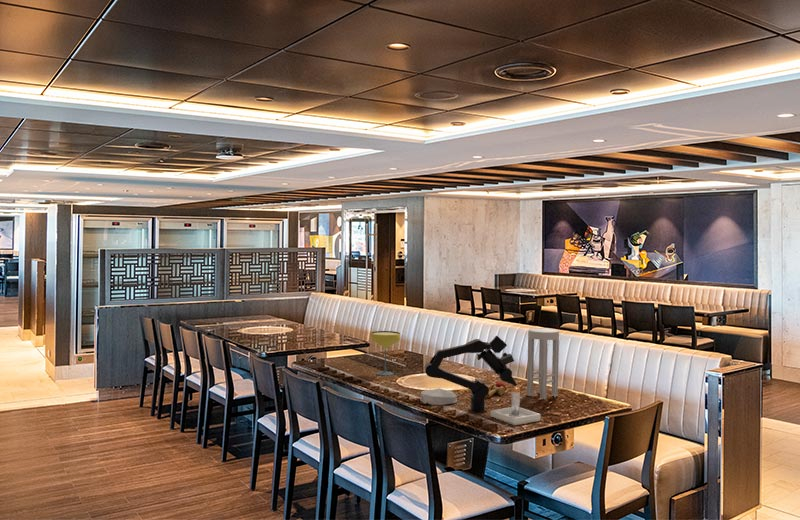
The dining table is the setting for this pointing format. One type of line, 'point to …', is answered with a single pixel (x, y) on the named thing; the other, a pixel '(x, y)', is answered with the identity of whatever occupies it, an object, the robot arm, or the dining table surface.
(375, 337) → the cocktail glass
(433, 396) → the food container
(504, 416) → the pin tray
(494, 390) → the kendama
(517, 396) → the pin
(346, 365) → the dining table surface
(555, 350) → the stool
